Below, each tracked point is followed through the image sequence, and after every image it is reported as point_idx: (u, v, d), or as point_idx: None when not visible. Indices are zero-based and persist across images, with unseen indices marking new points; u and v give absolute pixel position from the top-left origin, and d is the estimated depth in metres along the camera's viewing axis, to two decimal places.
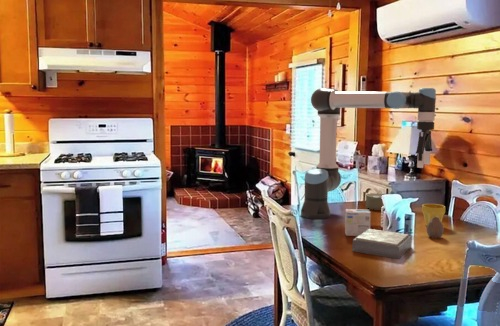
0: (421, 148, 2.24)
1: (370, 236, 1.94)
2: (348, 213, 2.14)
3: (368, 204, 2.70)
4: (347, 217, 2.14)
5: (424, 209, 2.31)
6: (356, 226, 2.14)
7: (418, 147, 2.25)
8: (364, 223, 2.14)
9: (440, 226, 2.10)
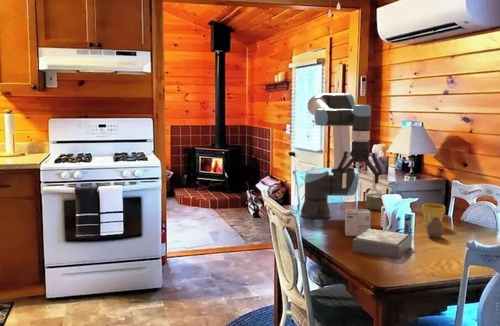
0: None
1: (370, 236, 1.94)
2: (348, 213, 2.14)
3: (368, 204, 2.70)
4: (347, 217, 2.14)
5: (424, 209, 2.31)
6: (356, 226, 2.14)
7: None
8: (364, 223, 2.14)
9: (440, 226, 2.10)
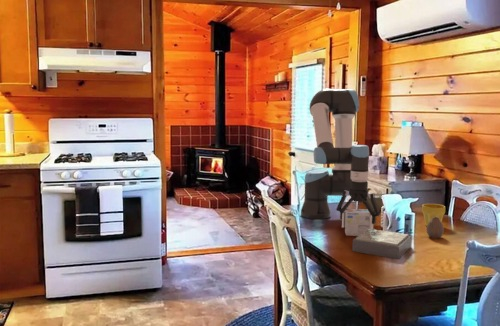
0: None
1: (370, 236, 1.94)
2: (348, 213, 2.14)
3: None
4: (347, 217, 2.14)
5: (424, 209, 2.31)
6: (356, 226, 2.14)
7: None
8: (364, 223, 2.13)
9: (440, 226, 2.10)
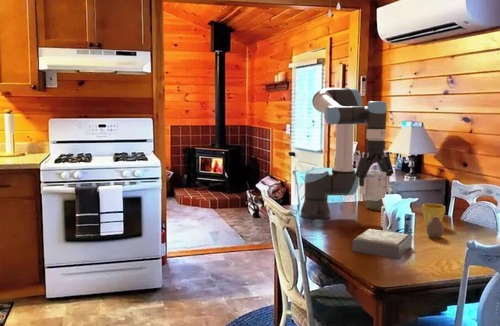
0: (359, 171, 1.95)
1: (370, 236, 1.94)
2: (379, 175, 1.95)
3: (368, 204, 2.70)
4: (378, 180, 1.95)
5: (424, 209, 2.31)
6: (381, 189, 1.98)
7: (357, 170, 1.96)
8: (384, 183, 2.01)
9: (440, 226, 2.10)
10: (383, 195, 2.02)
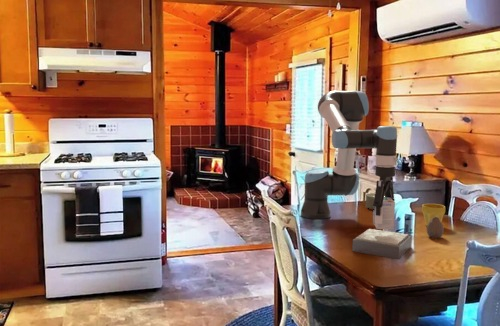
0: (379, 201, 1.85)
1: (370, 236, 1.94)
2: (394, 203, 1.89)
3: (368, 204, 2.70)
4: (394, 208, 1.89)
5: (424, 209, 2.31)
6: None
7: (375, 200, 1.86)
8: None
9: (440, 226, 2.10)
10: None
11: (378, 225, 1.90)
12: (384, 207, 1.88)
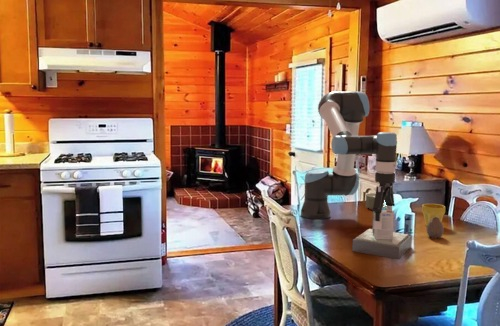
0: (378, 207, 1.85)
1: (370, 236, 1.94)
2: None
3: (368, 204, 2.70)
4: (393, 218, 1.89)
5: (424, 209, 2.31)
6: None
7: (375, 205, 1.86)
8: None
9: (440, 226, 2.10)
10: None
11: (377, 235, 1.90)
12: (383, 217, 1.89)
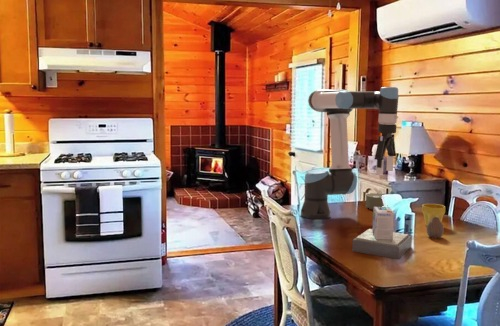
0: (380, 154, 2.03)
1: (370, 236, 1.94)
2: None
3: (368, 204, 2.70)
4: (393, 218, 1.89)
5: (424, 209, 2.31)
6: None
7: (377, 153, 2.04)
8: None
9: (440, 226, 2.10)
10: None
11: (377, 235, 1.90)
12: (383, 217, 1.89)
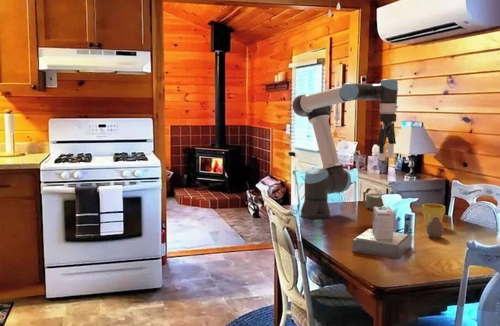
0: (382, 140, 2.20)
1: (370, 236, 1.94)
2: None
3: (368, 204, 2.70)
4: (393, 218, 1.89)
5: (424, 209, 2.31)
6: None
7: (379, 139, 2.21)
8: None
9: (440, 226, 2.10)
10: None
11: (377, 235, 1.90)
12: (383, 217, 1.89)
